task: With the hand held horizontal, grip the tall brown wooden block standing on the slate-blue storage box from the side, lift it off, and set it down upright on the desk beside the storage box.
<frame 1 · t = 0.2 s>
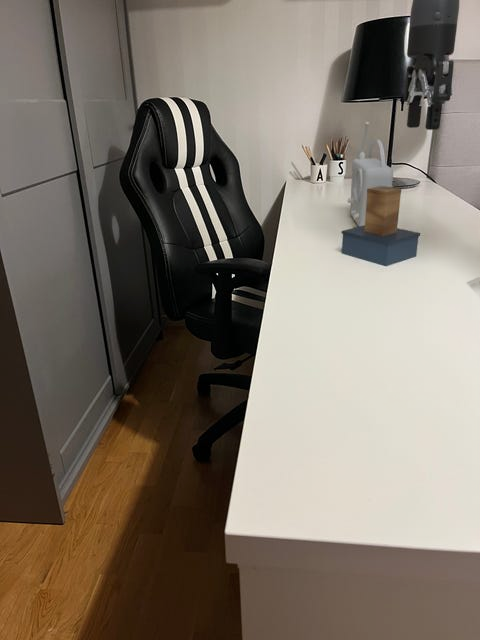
hand: (422, 128, 90), 26 cm above the table, tool pointing down, fingers open, 8 cm apart
storage box: (378, 254, 108), on the table, touching brown wooden block
brown wooden block: (380, 232, 106), point 5 cm above the table, touching storage box
radio: (364, 223, 134), on the table
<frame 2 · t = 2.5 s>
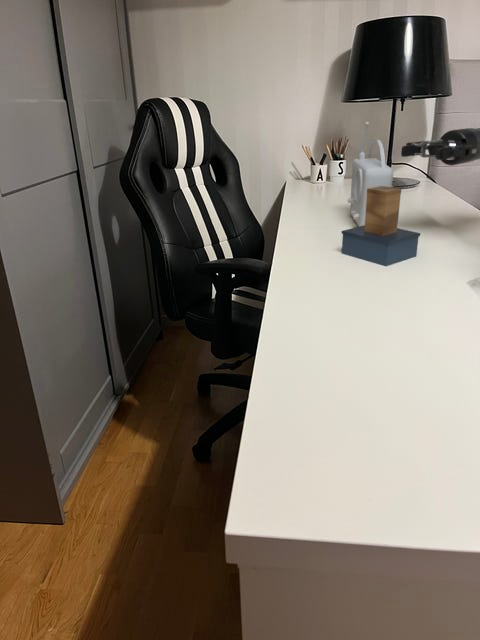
hand: (420, 152, 105), 20 cm above the table, tool horizontal, fingers open, 8 cm apart
nothing on the table moved.
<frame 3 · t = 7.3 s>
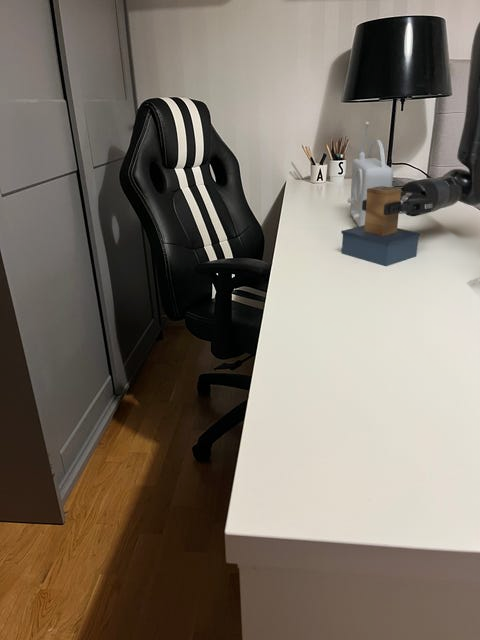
hand: (374, 207, 102), 11 cm above the table, tool horizontal, fingers closed on brown wooden block, 5 cm apart
brown wooden block: (380, 231, 106), point 5 cm above the table, touching gripper, storage box
everything else where it was.
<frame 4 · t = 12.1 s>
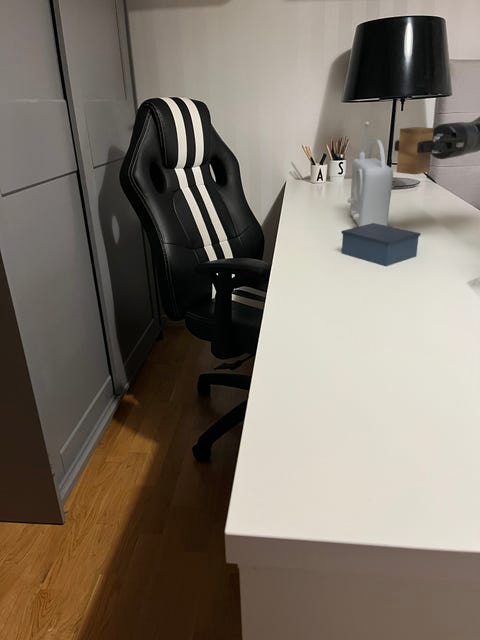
hand: (407, 146, 105), 21 cm above the table, tool horizontal, fingers closed on brown wooden block, 5 cm apart
storage box: (378, 254, 108), on the table
brown wooden block: (412, 172, 109), point 16 cm above the table, touching gripper
everything else where it was.
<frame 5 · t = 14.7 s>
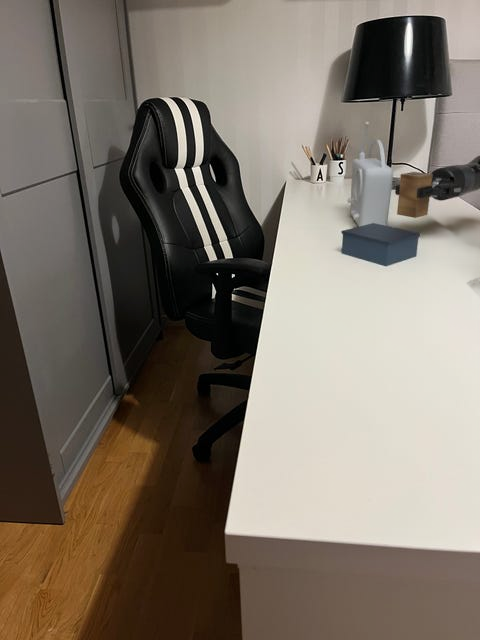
hand: (407, 191, 111), 12 cm above the table, tool horizontal, fingers closed on brown wooden block, 5 cm apart
brown wooden block: (412, 214, 114), point 6 cm above the table, touching gripper
everything else where it was.
when the fingers open (5 cm above the table, at t = 16.9 s): brown wooden block stays where it is, on the table.
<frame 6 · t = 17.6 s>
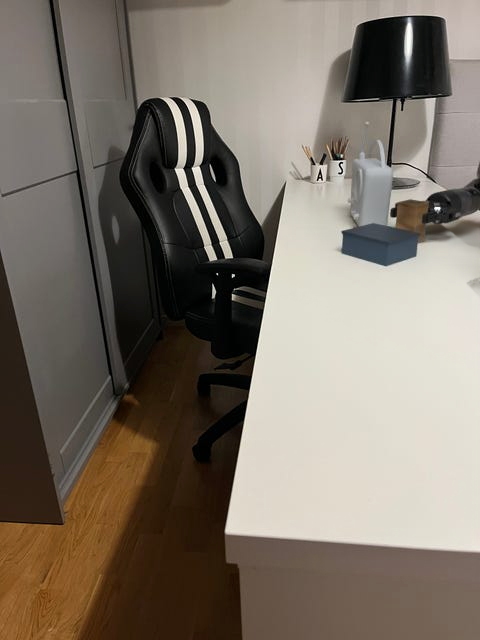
hand: (407, 216, 113), 6 cm above the table, tool horizontal, fingers open, 8 cm apart
brown wooden block: (408, 240, 117), on the table
everything else where it was.
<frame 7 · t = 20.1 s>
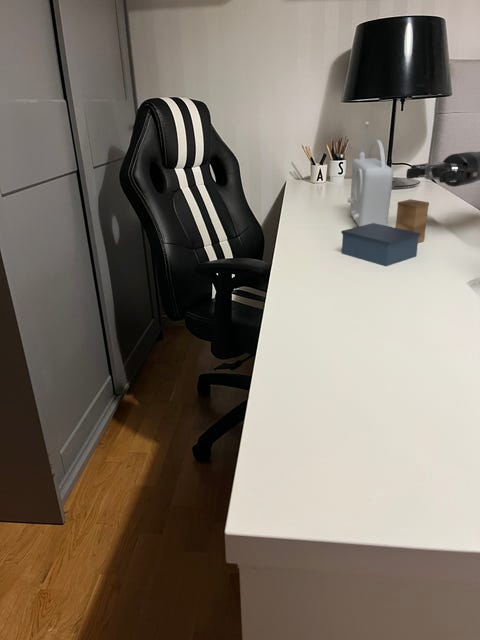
hand: (424, 175, 112), 15 cm above the table, tool horizontal, fingers open, 8 cm apart
nothing on the table moved.
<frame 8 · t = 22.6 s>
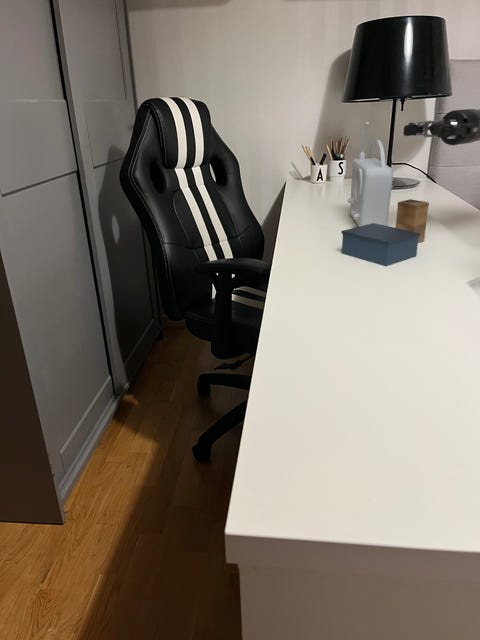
hand: (422, 131, 107), 24 cm above the table, tool horizontal, fingers open, 8 cm apart
nothing on the table moved.
at the end: brown wooden block on the table; brown wooden block touching table; brown wooden block tilted 0° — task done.
